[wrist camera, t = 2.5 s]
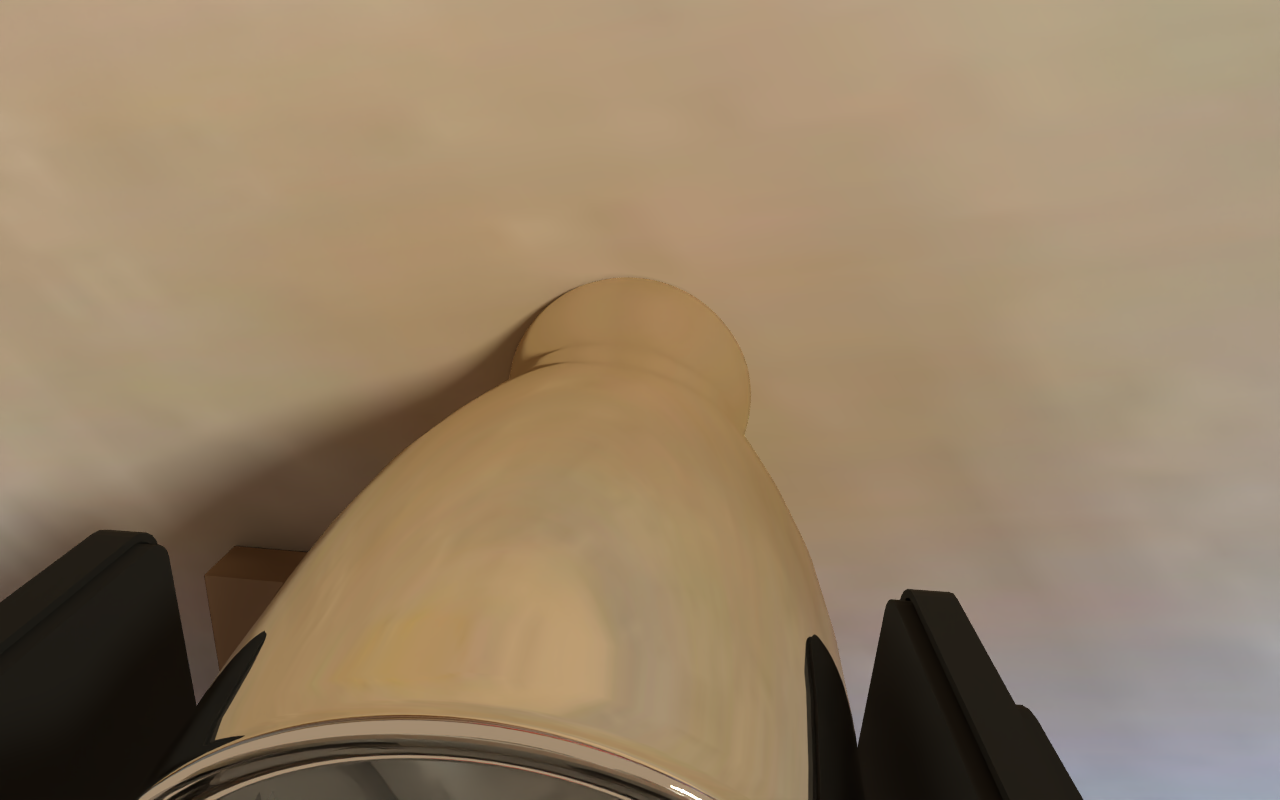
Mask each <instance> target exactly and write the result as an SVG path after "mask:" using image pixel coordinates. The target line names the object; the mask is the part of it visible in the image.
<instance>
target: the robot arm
mask: <svg viewBox="0 0 1280 800" xmlns="http://www.w3.org/2000/svg"><path fill="white" fill-rule="evenodd" d="M195 708H196V701H195V696H194V690H193V685H192V679H191V674H190V669H189V663H188V658H187V652H186V647H185V641H184V636H183V631H182V625H181V620H180V614H179V609H178V603H177V598H176V592H175V587H174V582H173V576H172V571H171V565H170V560H169V555H168V552H167V550H166V549H165V548H164V547H163V546H161V545H158V544H157V541H156V540H155V538H154V537H153V536H152V535H150V534H148V533H143V532H129V531H116V530H99V531H97V532H95V533H93V534H92V535H90V536H89V537H88V538H86V539H85V540H84V541H82V542H81V543H80V544H78V545H77V546H76V547H74V548H73V549H72V550H70V551H69V552H67V553H66V554H65V555H63V556H62V557H61V558H59V559H58V560H57V561H55V562H54V563H53V564H51V565H50V566H49V567H47V568H46V569H45V570H43V571H42V572H41V573H39V574H38V575H37V576H35V577H34V578H32V579H31V580H30V581H28V582H27V583H26V584H24V585H23V586H22V587H20V588H19V589H18V590H16V591H15V592H14V593H12V594H11V595H10V596H8V597H7V598H6V599H4V600H3V601H2V602H0V800H131V799H132V798H133V797H134V795H135V794H136V793H137V791H138V790H139V789H140V787H141V786H142V784H143V783H144V782H145V780H146V779H147V777H148V776H149V774H150V773H151V772H152V770H153V769H154V767H155V766H156V765H157V763H158V762H159V760H160V759H161V757H162V756H163V755H164V753H165V752H166V750H167V749H168V747H169V746H170V745H171V743H172V742H173V740H174V739H175V738H176V736H177V735H178V733H179V732H180V730H181V729H182V727H183V726H184V724H185V723H186V721H187V720H188V718H189V717H190V715H191V714H192V712H193V711H194V709H195ZM858 755H859V762H860V768H861V775H862V782H863V788H864V795H865V800H1083V798H1082V797H1081V795H1080V793H1079V791H1078V790H1077V788H1076V786H1075V784H1074V783H1073V781H1072V779H1071V777H1070V776H1069V774H1068V772H1067V771H1066V769H1065V767H1064V765H1063V764H1062V762H1061V760H1060V758H1059V757H1058V755H1057V753H1056V751H1055V750H1054V748H1053V746H1052V744H1051V743H1050V741H1049V739H1048V737H1047V736H1046V734H1045V732H1044V730H1043V729H1042V727H1041V725H1040V723H1039V722H1038V720H1037V719H1036V717H1035V716H1034V715H1033V713H1032V712H1031V711H1030V710H1029V709H1028V708H1026V707H1024V706H1023V705H1016V704H1015V703H1014V701H1013V699H1012V697H1011V695H1010V693H1009V692H1008V690H1007V688H1006V686H1005V684H1004V683H1003V681H1002V679H1001V677H1000V675H999V674H998V672H997V670H996V668H995V666H994V665H993V663H992V661H991V659H990V657H989V655H988V654H987V652H986V650H985V648H984V646H983V645H982V643H981V641H980V639H979V637H978V636H977V634H976V632H975V630H974V628H973V627H972V625H971V623H970V621H969V619H968V617H967V616H966V614H965V612H964V610H963V608H962V607H961V605H960V603H959V601H958V599H957V598H956V597H955V595H954V594H953V593H950V592H940V591H926V590H913V589H907V590H905V591H904V592H903V594H902V596H901V599H900V600H892V599H891V600H889V601H888V603H887V605H886V608H885V612H884V617H883V622H882V627H881V632H880V637H879V642H878V647H877V652H876V657H875V663H874V668H873V673H872V678H871V683H870V688H869V693H868V698H867V703H866V708H865V713H864V718H863V723H862V728H861V733H860V738H859V743H858Z"/></svg>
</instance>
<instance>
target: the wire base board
mask: <svg viewBox="0 0 1280 800" xmlns="http://www.w3.org/2000/svg"><path fill="white" fill-rule="evenodd" d="M307 553H308V552H297V551H286V550H274V549H263V548H251V547H240V546H234V547H233V548H232V549H231V550H230V551H229V552H228V553H227V554H226V555H225V556H224V557H223V558H222V559H221V560H220V561H219V562H218V563H217V564H216V565H215V566H213V567H212V568H211V569H210V570H209V571H208V572H207V573H206V574H205V575H204V578H205V584H206V590H207V596H208V602H209V609H210V615H211V621H212V627H213V633H214V640H215V646H216V652H217V658H218V664H219V670H220V671H221V669H222V668H223V666H224V665H225V663H226V662H227V661H228V659H229V658H230V656H231V655H232V654H233V652H234V651H235V649H236V648H237V646H238V645H239V644H240V642H241V641H242V639H243V638H244V637H245V635H246V634H247V632H248V631H249V630H250V628H251V627H252V625H253V624H254V623H255V621H256V620H257V618H258V617H259V615H260V614H261V613H262V611H263V610H264V608H265V607H266V606H267V604H268V603H269V601H270V600H271V599H272V597H273V596H274V594H275V593H276V592H277V591H278V589H279V588H280V587H281V586H282V584H283V583H284V582H285V580H286V579H287V578H288V577H289V575H290V574H291V573H292V572H293V570H294V569H295V568H296V567H297V565H298V564H299V563H300V562H301V560H302V559H303V558H304V557H305V555H306V554H307Z"/></svg>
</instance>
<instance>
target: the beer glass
mask: <svg viewBox="0 0 1280 800" xmlns="http://www.w3.org/2000/svg"><path fill="white" fill-rule="evenodd" d="M750 404H751V386H750V377H749V372H748V367H747V364H746V361H745V358H744V355H743V353H742V350H741V348H740V346H739V344H738V343H737V341H736V339H735V338H734V336H733V334H732V333H731V331H730V330H729V329H728V327H727V326H726V325H725V324H724V322H723V321H722V320H721V319H720V318H719V317H718V316H717V315H716V313H714V312H713V311H712V310H711V309H710V308H709V307H708V306H707V305H705V304H704V303H703V302H702V301H700V300H699V299H697V298H696V297H694V296H693V295H691V294H689V293H687V292H685V291H683V290H681V289H679V288H677V287H674V286H672V285H669V284H666V283H663V282H659V281H655V280H650V279H644V278H632V277H622V278H610V279H604V280H599V281H595V282H591V283H588V284H585V285H582V286H580V287H577V288H575V289H573V290H571V291H569V292H567V293H565V294H564V295H562V296H560V297H559V298H557V299H556V300H555V301H553V302H552V303H551V304H549V305H548V306H547V307H546V308H545V309H544V310H543V311H542V312H541V313H540V314H539V315H538V316H537V317H536V318H535V319H534V321H533V322H532V323H531V324H530V326H529V327H528V329H527V330H526V332H525V333H524V335H523V337H522V339H521V340H520V342H519V344H518V347H517V349H516V352H515V354H514V358H513V361H512V365H511V370H510V377H509V379H508V380H506V381H504V382H503V383H501V384H499V385H497V386H496V387H494V388H492V389H491V390H489V391H487V392H486V393H484V394H482V395H481V396H479V397H477V398H476V399H474V400H472V401H470V402H469V403H467V404H465V405H464V406H462V407H461V408H459V409H458V410H456V411H455V412H453V413H452V414H450V415H449V416H448V417H446V418H445V419H444V420H442V421H441V422H440V423H438V424H437V425H436V426H434V427H433V428H432V429H430V430H429V431H428V432H426V433H425V434H424V435H422V436H421V437H420V438H418V439H417V440H416V441H414V442H413V443H412V444H410V445H409V446H408V447H406V448H405V449H404V450H403V451H401V452H400V453H399V454H398V455H397V456H396V457H395V458H394V459H392V460H391V461H390V462H389V463H388V464H387V465H386V466H385V467H384V468H383V469H382V471H381V472H380V473H379V474H378V475H377V476H376V477H375V478H374V479H373V480H372V481H371V482H370V483H369V484H368V485H367V486H366V487H365V488H364V489H363V490H362V491H361V492H360V493H359V494H358V495H357V496H356V497H355V498H354V499H353V500H352V501H351V503H350V504H349V505H348V506H347V507H346V508H345V509H344V510H343V511H342V512H341V513H340V514H339V515H338V516H337V517H336V518H335V519H334V521H333V522H332V523H331V524H330V525H329V526H328V528H327V529H326V530H325V531H324V533H323V534H322V535H321V537H320V538H319V539H318V540H317V542H316V543H315V544H314V545H313V547H312V548H311V549H310V550H309V552H308V553H307V554H306V555H305V557H304V558H303V559H302V560H301V562H300V563H299V564H298V565H297V567H296V568H295V569H294V570H293V572H292V573H291V574H290V575H289V577H288V578H287V579H286V580H285V582H284V583H283V584H282V586H281V587H280V588H279V589H278V591H277V592H276V593H275V594H274V596H273V597H272V599H271V600H270V601H269V603H268V604H267V606H266V607H265V608H264V610H263V611H262V613H261V614H260V615H259V617H258V618H257V620H256V621H255V623H254V624H253V625H252V627H251V628H250V630H249V631H248V632H247V634H246V635H245V637H244V638H243V639H242V641H241V642H240V644H239V645H238V646H237V648H236V649H235V651H234V652H233V654H232V655H231V656H230V658H229V659H228V661H227V662H226V663H225V665H224V666H223V668H222V669H221V671H220V672H219V674H218V675H217V677H216V678H215V679H214V681H213V682H212V684H211V685H210V687H209V688H208V690H207V691H206V693H205V694H204V696H203V697H202V699H201V700H200V702H199V703H198V705H197V706H196V708H195V709H194V711H193V712H192V714H191V715H190V717H189V718H188V720H187V721H186V723H185V724H184V726H183V727H182V729H181V730H180V732H179V733H178V735H177V736H176V738H175V739H174V740H173V742H172V743H171V745H170V746H169V747H168V749H167V750H166V752H165V753H164V755H163V756H162V757H161V759H160V760H159V762H158V763H157V765H156V766H155V767H154V769H153V770H152V772H151V773H150V774H149V776H148V777H147V779H146V780H145V782H144V783H143V784H142V786H141V787H140V789H139V790H138V791H137V793H136V794H135V795H134V797H133V798H132V799H131V800H865V795H864V788H863V782H862V775H861V768H860V762H859V755H858V748H857V742H856V735H855V729H854V724H853V718H852V714H851V709H850V704H849V699H848V694H847V689H846V684H845V680H844V675H843V670H842V665H841V660H840V655H839V650H838V646H837V641H836V637H835V633H834V630H833V626H832V623H831V620H830V617H829V614H828V610H827V607H826V604H825V601H824V597H823V594H822V591H821V588H820V585H819V581H818V578H817V575H816V572H815V568H814V565H813V562H812V559H811V557H810V554H809V551H808V549H807V547H806V544H805V542H804V540H803V538H802V536H801V534H800V532H799V530H798V528H797V526H796V524H795V522H794V520H793V518H792V516H791V514H790V511H789V509H788V507H787V505H786V503H785V501H784V499H783V497H782V495H781V493H780V491H779V490H778V488H777V486H776V484H775V482H774V481H773V479H772V477H771V476H770V474H769V473H768V471H767V469H766V468H765V466H764V465H763V463H762V462H761V460H760V458H759V457H758V455H757V454H756V452H755V450H754V449H753V447H752V446H751V444H750V443H749V441H748V440H747V438H746V437H745V436H744V435H745V432H746V428H747V424H748V419H749V414H750Z"/></svg>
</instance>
